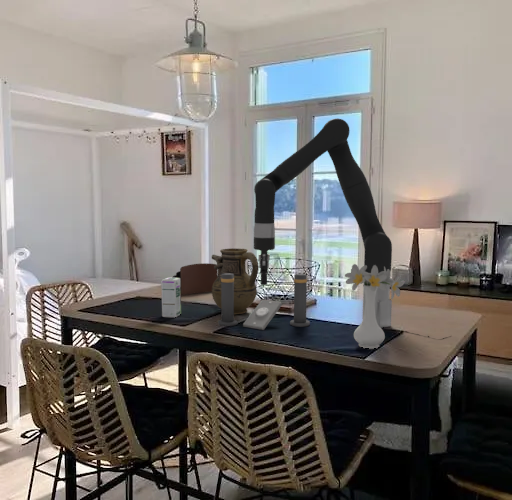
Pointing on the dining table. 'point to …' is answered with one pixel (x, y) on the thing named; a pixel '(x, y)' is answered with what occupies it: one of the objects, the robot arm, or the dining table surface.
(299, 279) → the post
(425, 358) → the dining table surface
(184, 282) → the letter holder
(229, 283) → the post
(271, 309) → the light switch
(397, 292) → the flower vase
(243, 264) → the decorative pitcher
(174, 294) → the syrup box
